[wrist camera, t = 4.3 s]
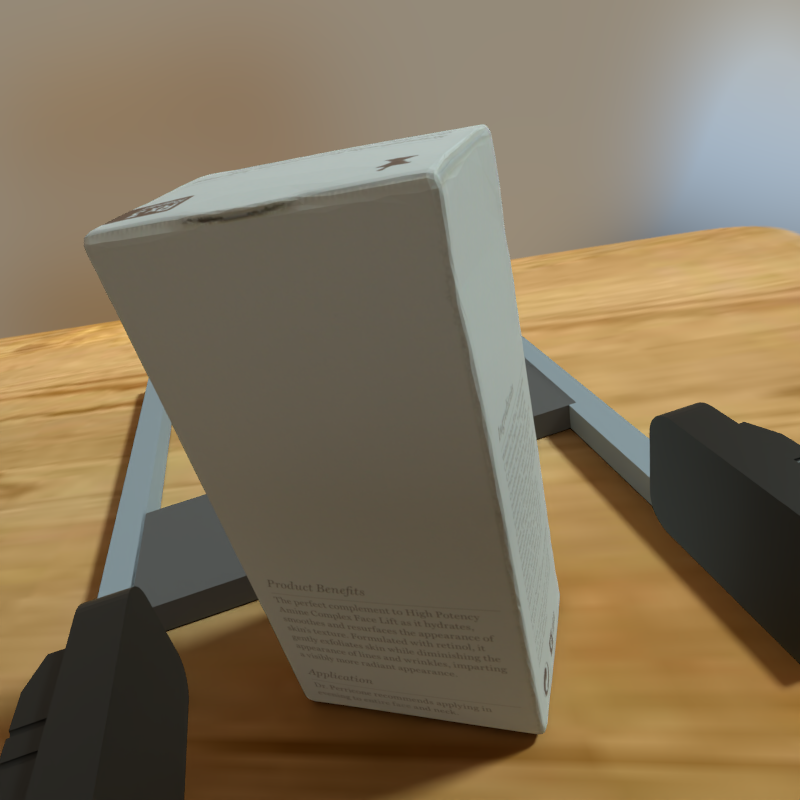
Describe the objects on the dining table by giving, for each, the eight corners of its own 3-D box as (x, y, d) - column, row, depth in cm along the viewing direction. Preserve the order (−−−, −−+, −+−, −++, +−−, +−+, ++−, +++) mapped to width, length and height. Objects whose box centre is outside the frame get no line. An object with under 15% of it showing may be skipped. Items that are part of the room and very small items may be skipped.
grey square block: (303, 583, 19) (294, 559, 19) (139, 640, 19) (125, 616, 18) (287, 492, 24) (279, 471, 23) (153, 535, 23) (143, 514, 22)
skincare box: (562, 594, 17) (510, 108, 11) (547, 757, 13) (458, 163, 7) (352, 578, 19) (216, 163, 13) (290, 716, 15) (64, 226, 10)
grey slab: (578, 425, 24) (576, 402, 23) (452, 466, 23) (448, 443, 22) (521, 373, 28) (519, 352, 27) (415, 406, 27) (410, 386, 27)
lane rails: (868, 653, 14) (875, 622, 13) (37, 992, 11) (10, 968, 11) (460, 300, 37) (457, 283, 36) (157, 388, 35) (149, 372, 34)
